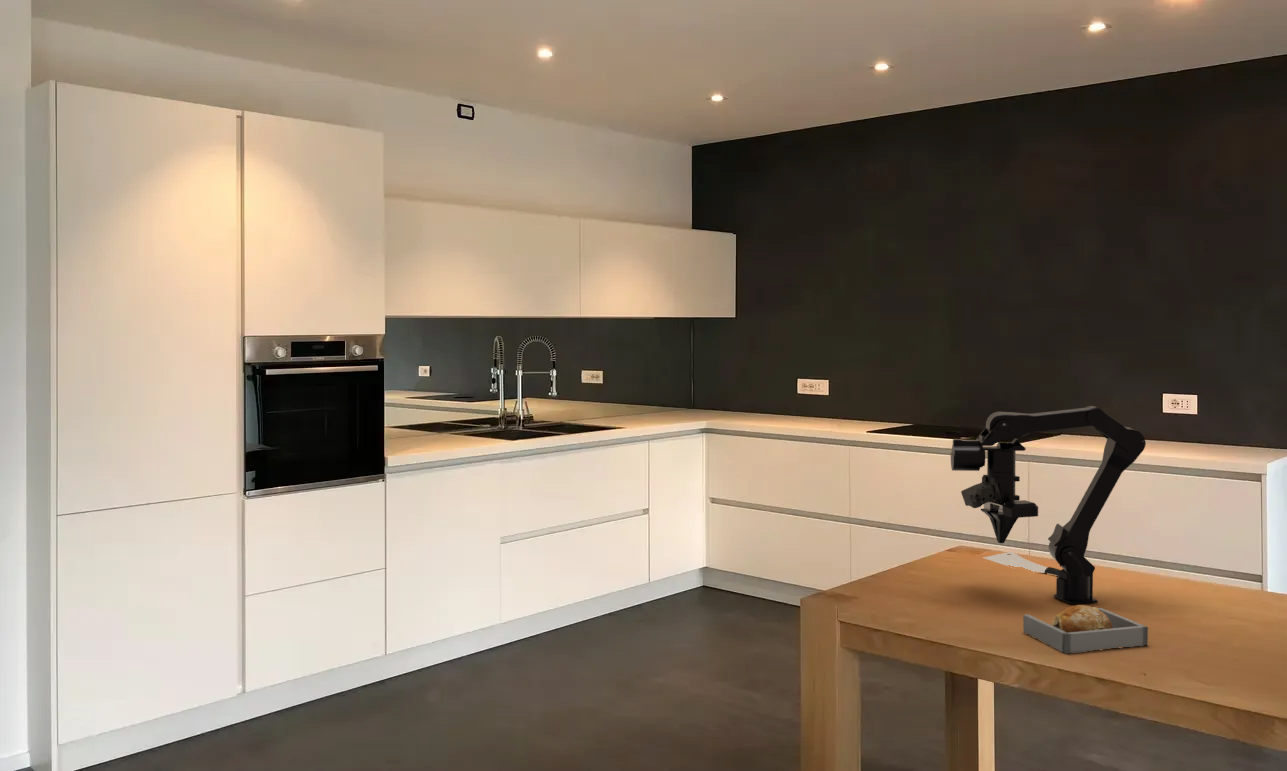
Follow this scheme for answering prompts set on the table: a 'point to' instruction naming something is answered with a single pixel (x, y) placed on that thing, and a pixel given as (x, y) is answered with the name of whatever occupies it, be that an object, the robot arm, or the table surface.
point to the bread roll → (1081, 619)
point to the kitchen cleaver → (1021, 563)
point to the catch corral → (1089, 634)
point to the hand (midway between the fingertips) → (1000, 542)
